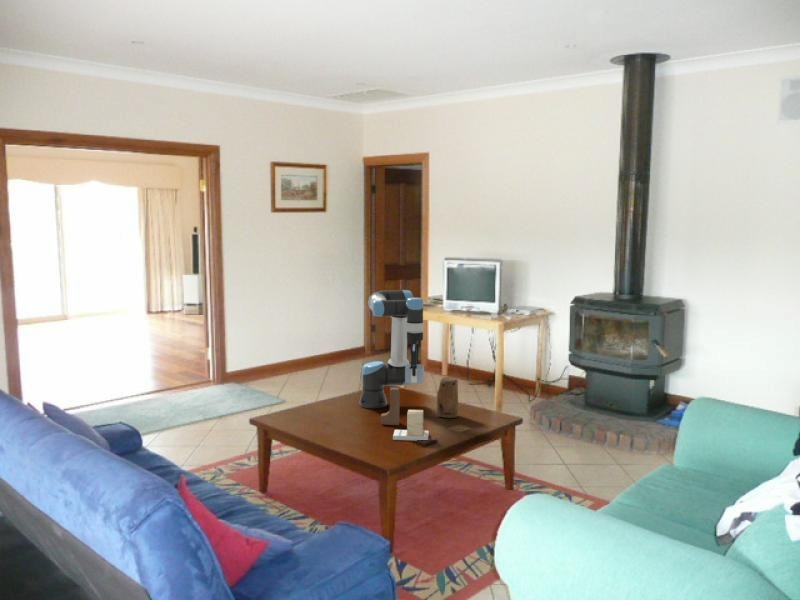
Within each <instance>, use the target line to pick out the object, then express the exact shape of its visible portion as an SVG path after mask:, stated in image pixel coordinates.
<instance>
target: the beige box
mask: <svg viewBox="0 0 800 600" xmlns="http://www.w3.org/2000/svg"><path fill="white" fill-rule="evenodd" d="M406 414H407V415H406V418H407V419H406V421H407V422H406V430H407V435H422V434H423V430H424V409H407V413H406Z"/></svg>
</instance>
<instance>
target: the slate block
mask: <svg viewBox="0 0 800 600" xmlns="http://www.w3.org/2000/svg"><path fill="white" fill-rule="evenodd" d="M412 366H415V365H412ZM410 367H411V363H409V364H407V365H406V367H405V383H409V384H412V383H411V369H410ZM424 381H425V364H421V363H420V364H417V383H416V384H423V383H424Z"/></svg>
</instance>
